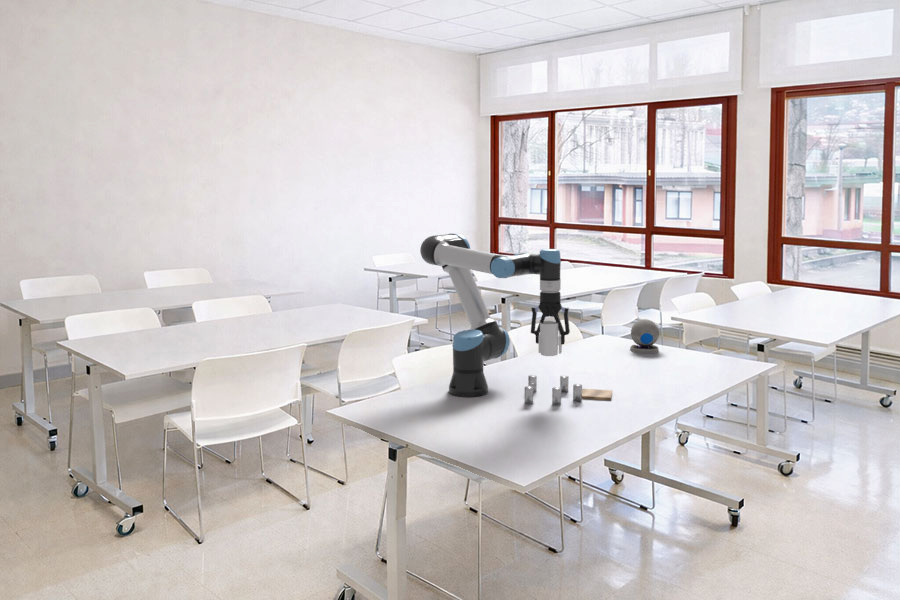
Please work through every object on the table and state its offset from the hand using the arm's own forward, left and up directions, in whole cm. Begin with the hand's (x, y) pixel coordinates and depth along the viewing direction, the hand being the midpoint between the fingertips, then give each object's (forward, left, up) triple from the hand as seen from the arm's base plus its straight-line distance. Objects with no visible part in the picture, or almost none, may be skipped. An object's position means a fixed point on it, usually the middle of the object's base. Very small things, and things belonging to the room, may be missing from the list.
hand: (550, 352), depth 278 cm
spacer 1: (-7, +7, -17) cm, 20 cm away
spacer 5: (+10, -2, -17) cm, 20 cm away
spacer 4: (+5, +9, -17) cm, 20 cm away
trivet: (+16, +6, -17) cm, 25 cm away
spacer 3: (+4, -8, -17) cm, 19 cm away
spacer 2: (-6, -9, -17) cm, 21 cm away
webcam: (+35, +87, -18) cm, 95 cm away
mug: (+1, 0, -1) cm, 1 cm away
